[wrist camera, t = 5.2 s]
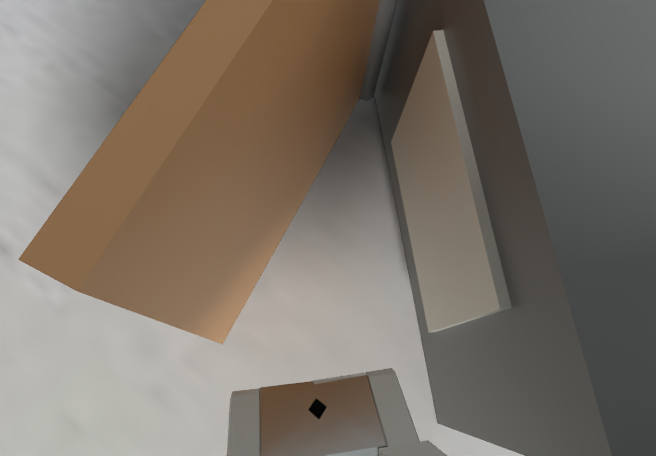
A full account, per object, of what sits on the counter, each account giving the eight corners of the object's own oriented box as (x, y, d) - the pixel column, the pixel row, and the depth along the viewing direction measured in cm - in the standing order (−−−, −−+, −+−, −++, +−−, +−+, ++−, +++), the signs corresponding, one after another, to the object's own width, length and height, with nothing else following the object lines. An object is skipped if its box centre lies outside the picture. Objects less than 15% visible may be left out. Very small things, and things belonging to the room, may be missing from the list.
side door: (183, 323, 20) (-28, 234, 7) (334, 67, 23) (370, -285, 11) (233, 350, 19) (107, 307, 7) (378, 87, 23) (465, -248, 11)
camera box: (430, 424, 20) (605, 494, 8) (361, 56, 25) (411, -219, 13) (708, 379, 21) (1204, 386, 9) (589, 35, 26) (818, -237, 14)
